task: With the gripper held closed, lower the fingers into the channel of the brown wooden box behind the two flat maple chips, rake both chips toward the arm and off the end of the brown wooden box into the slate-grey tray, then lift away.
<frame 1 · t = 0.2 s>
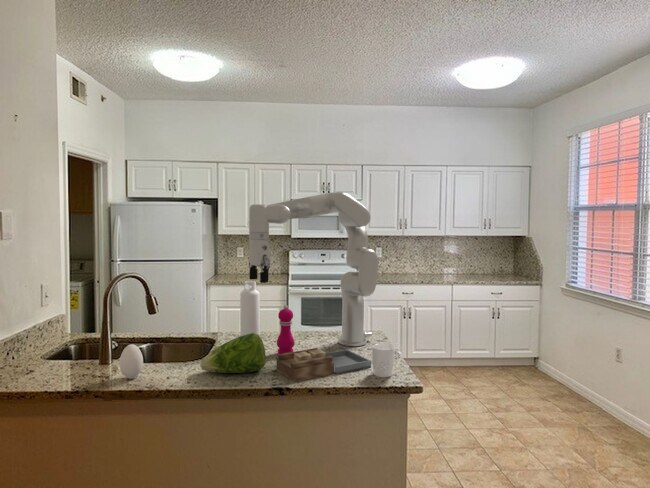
hand: (258, 280, 175), 31 cm above the countertop, fingers open, 9 cm apart
pepper mill: (285, 354, 184), on the countertop
bottle: (250, 347, 193), on the countertop
white cup: (382, 374, 162), on the countertop
tray: (341, 364, 172), on the countertop
chip b: (302, 360, 163), point 4 cm above the countertop, touching brown wooden box
brown wooden box: (304, 371, 163), on the countertop
egg: (131, 378, 155), on the countertop
chip a: (316, 358, 166), point 4 cm above the countertop, touching brown wooden box
lettuce: (233, 372, 162), on the countertop
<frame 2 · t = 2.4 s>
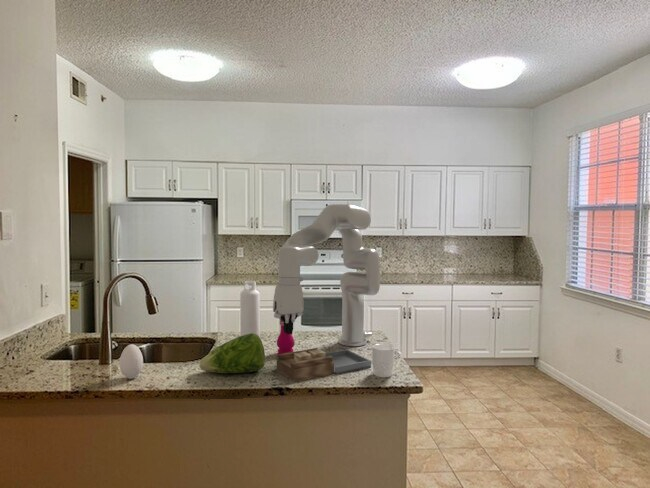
hand: (288, 333, 159), 15 cm above the countertop, fingers closed
nothing on the countertop moved.
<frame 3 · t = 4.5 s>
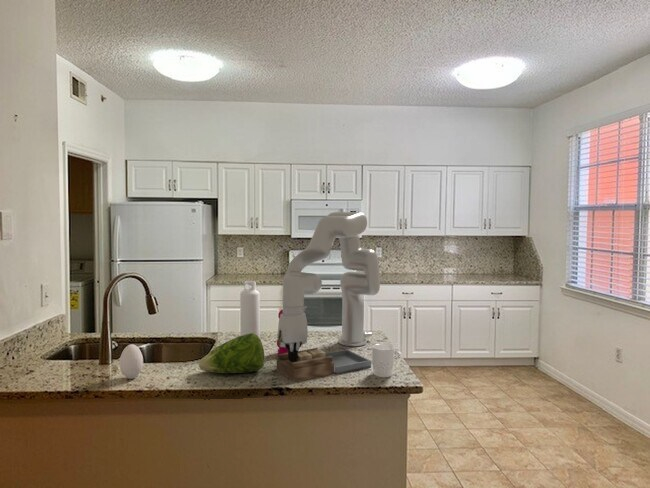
hand: (292, 361, 161), 5 cm above the countertop, fingers closed
chip b: (303, 360, 163), point 4 cm above the countertop, touching brown wooden box, gripper
everything else where it was.
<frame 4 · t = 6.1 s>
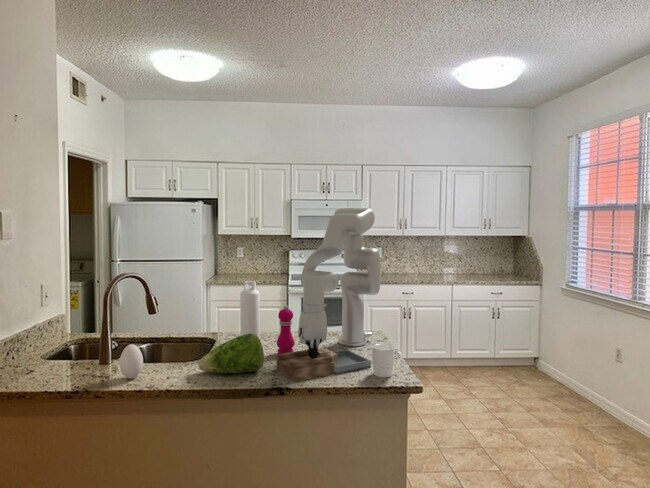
hand: (312, 357, 165), 5 cm above the countertop, fingers closed
chip b: (322, 357, 167), point 4 cm above the countertop, touching gripper
chip a: (328, 359, 168), point 3 cm above the countertop, tilted 90°, touching tray
everything else where it was.
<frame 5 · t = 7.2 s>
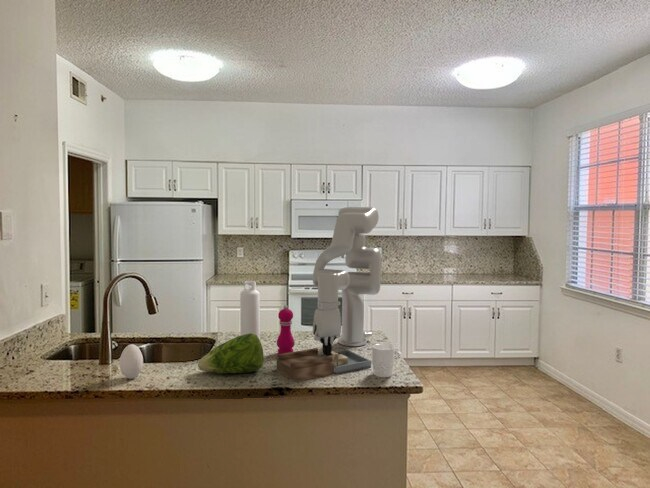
hand: (327, 354, 168), 5 cm above the countertop, fingers closed
chip b: (328, 358, 168), point 3 cm above the countertop, tilted 101°, touching chip a, gripper, tray
chip a: (339, 356, 171), point 3 cm above the countertop, tilted 180°, touching chip b
everything else where it was.
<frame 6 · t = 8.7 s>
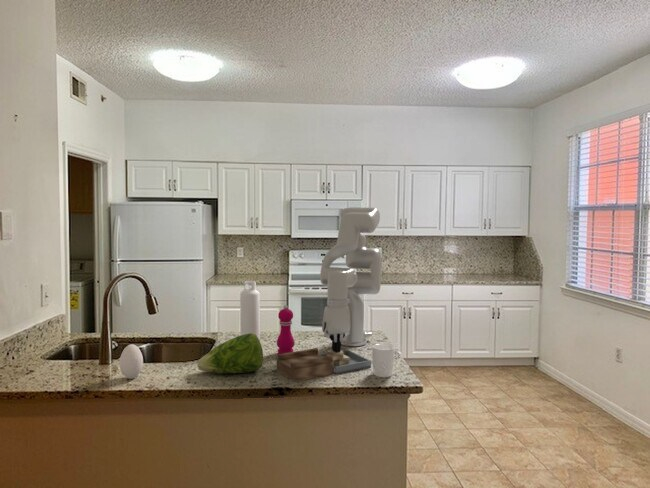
hand: (336, 351, 170), 5 cm above the countertop, fingers closed
chip b: (335, 351, 169), point 6 cm above the countertop, tilted 179°, touching chip a, gripper
chip a: (341, 356, 171), point 3 cm above the countertop, tilted 179°, touching chip b, tray
everything else where it was.
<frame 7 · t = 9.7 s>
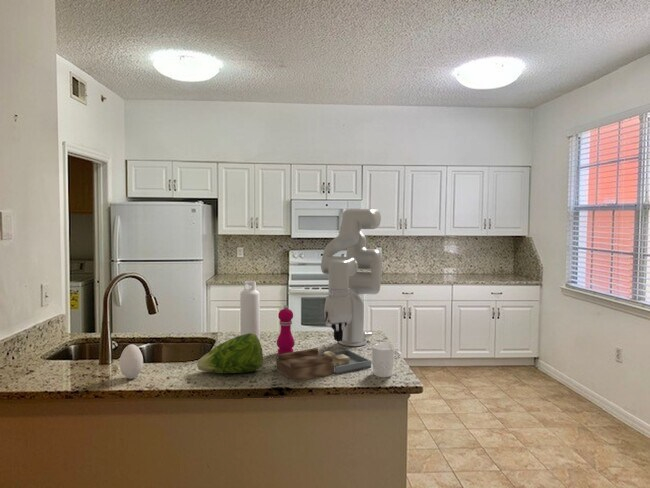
hand: (338, 340, 171), 9 cm above the countertop, fingers closed
chip b: (326, 359, 168), point 3 cm above the countertop, tilted 84°, touching tray
chip a: (341, 356, 171), point 3 cm above the countertop, tilted 180°, touching tray
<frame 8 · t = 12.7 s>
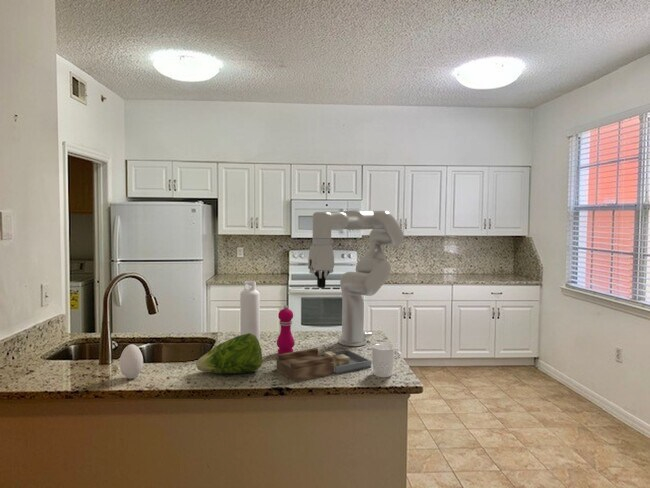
hand: (321, 287, 184), 27 cm above the countertop, fingers closed
chip b: (327, 359, 168), point 3 cm above the countertop, tilted 90°, touching tray
at the end: chip a inside the target area (0.8 cm from its centre), point 3.1 cm above the countertop; chip b inside the target area (6.9 cm from its centre), point 2.8 cm above the countertop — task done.
